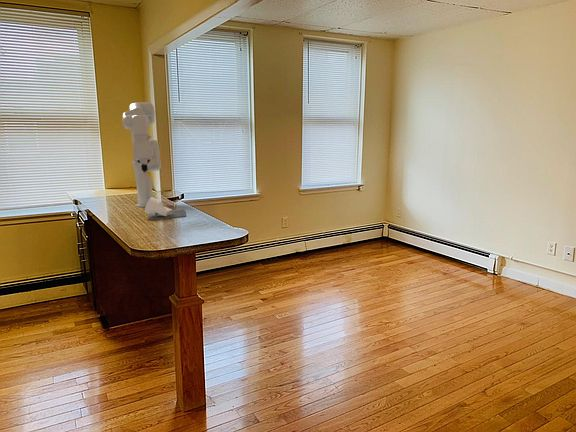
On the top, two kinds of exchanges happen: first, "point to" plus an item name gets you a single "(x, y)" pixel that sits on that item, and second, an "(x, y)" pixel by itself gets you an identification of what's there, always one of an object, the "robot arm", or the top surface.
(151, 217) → the mat
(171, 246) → the top surface
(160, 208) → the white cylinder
